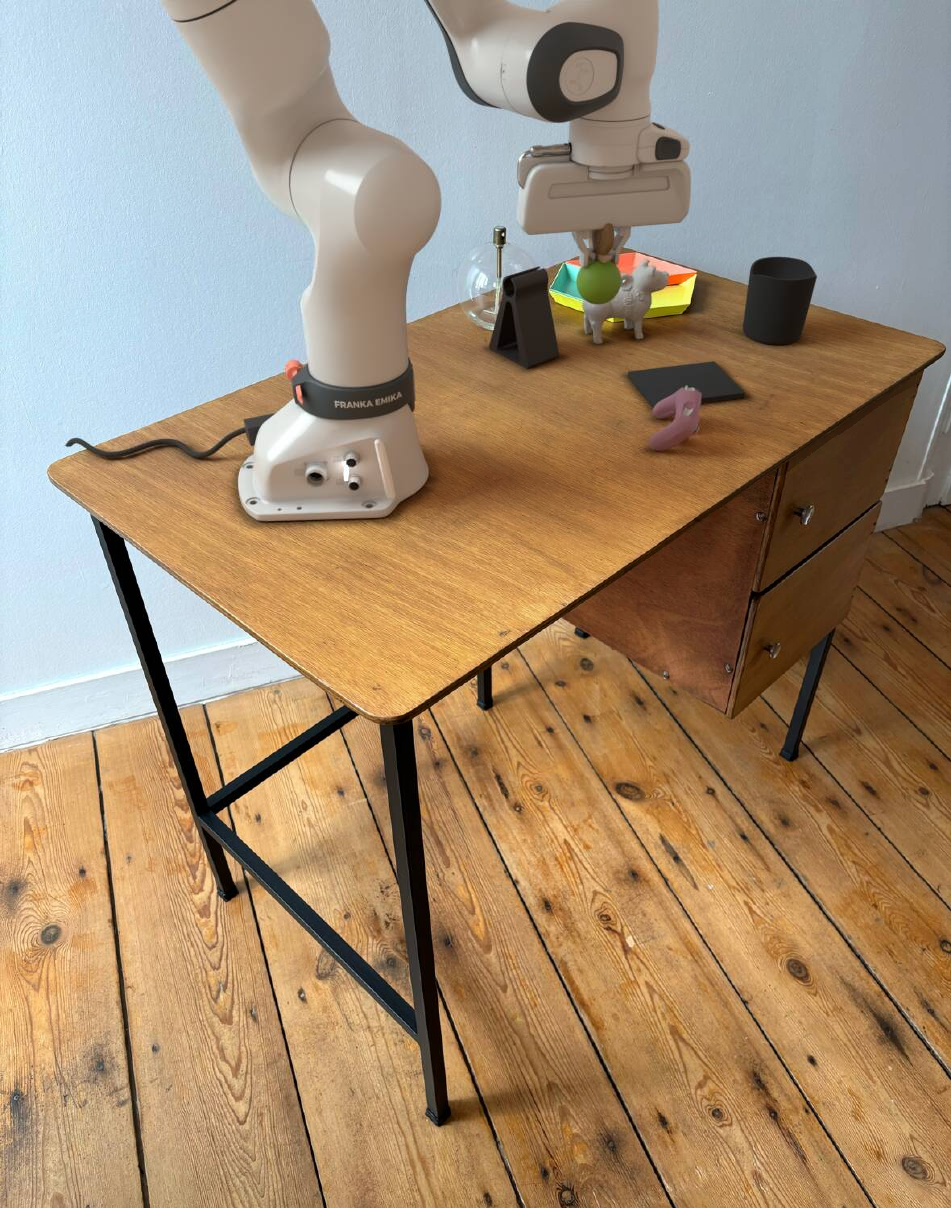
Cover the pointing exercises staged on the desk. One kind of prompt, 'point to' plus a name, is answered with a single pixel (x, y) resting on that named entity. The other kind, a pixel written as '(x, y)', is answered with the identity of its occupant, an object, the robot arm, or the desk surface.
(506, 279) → the phone stand
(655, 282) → the dog figurine
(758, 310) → the pen holder
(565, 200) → the robot arm
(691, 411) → the video game controller
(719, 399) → the mat
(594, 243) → the snail figurine
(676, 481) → the desk surface
